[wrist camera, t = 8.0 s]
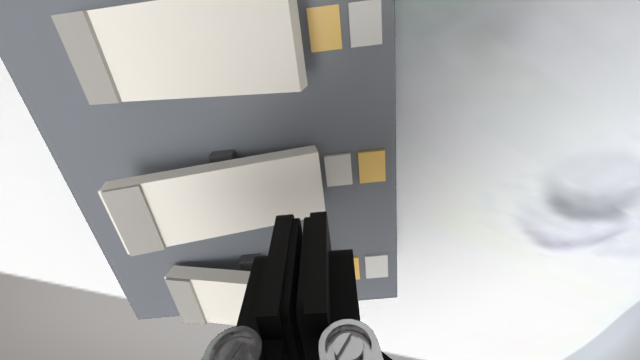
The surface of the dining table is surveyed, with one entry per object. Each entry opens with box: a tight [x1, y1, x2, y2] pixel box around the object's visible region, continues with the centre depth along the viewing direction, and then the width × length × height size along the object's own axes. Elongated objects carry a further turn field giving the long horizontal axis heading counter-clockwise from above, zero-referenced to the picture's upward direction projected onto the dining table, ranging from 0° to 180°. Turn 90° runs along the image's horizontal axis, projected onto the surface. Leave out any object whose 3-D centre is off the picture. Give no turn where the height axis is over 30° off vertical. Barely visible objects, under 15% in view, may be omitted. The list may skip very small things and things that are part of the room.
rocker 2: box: [98, 145, 326, 256], centre depth 17 cm, size 10×4×1 cm, turn 96°
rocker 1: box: [51, 0, 308, 105], centre depth 14 cm, size 10×4×1 cm, turn 97°
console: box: [0, 0, 397, 319], centre depth 21 cm, size 18×20×6 cm
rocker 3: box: [164, 265, 250, 325], centre depth 20 cm, size 10×4×1 cm, turn 97°
